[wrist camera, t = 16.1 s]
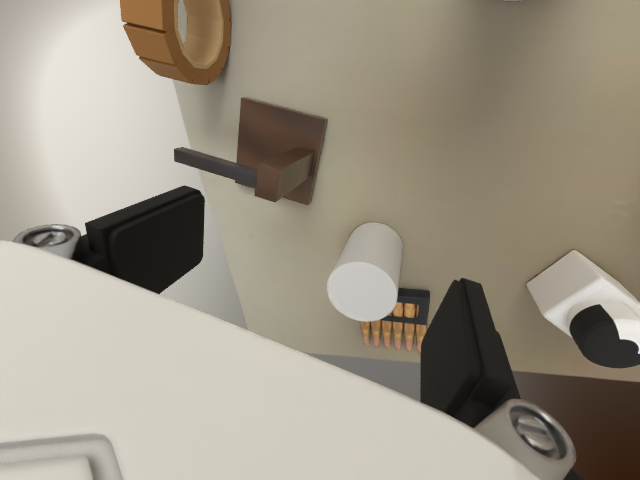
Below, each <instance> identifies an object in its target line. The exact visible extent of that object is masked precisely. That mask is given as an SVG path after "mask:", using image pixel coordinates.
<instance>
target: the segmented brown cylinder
mask: <svg viewBox="0 0 640 480" xmlns="http://www.w3.org/2000/svg"><path fill="white" fill-rule="evenodd" d="M183 1H184V4H185V8H186V11H187V27H188V34H187V37H186V40H185V42H184V45H183V43H182V40H181V37H180V34H179V31H178V3H179V0H120V7H121V17H122V21H123V22H127V24H125V25H123V27H124V29H125V31H126V33H127V35H128V38H129V40H130V42H131V44H132V47H133V49H134V51H135V53H136V55H138V56H140V57H139V59H140V60H141V61H143V62H144V63H145V64H146V65H147V66H148V67H149V68H150V69H151V70H153V71H154V72H155V73H156V74H158V75H160V76H163V77H168V78H171V79H175V80H179V81H183V82H187V83H191V84H200V85H208V84H210V83H211V82H212V81H213V80H214V79H215V78H216V77H217V76H218V75H219V74H220V73H221V70H223V68H224V65H225V62H226V59H227V56H228V53H229V49H228V47H230V42H231V21H230V20H229V19H230V18H231V14H230V8H229V3H228V0H183Z"/></svg>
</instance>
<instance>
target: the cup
mask: <svg viewBox="0 0 640 480" xmlns="http://www.w3.org/2000/svg"><path fill="white" fill-rule="evenodd" d="M402 254H403V244H402V241H401V238H400V237H399V235H398V234H397V233H396V231H395V230H393V229H392V228H391V227H389V226H387V225H385V224H382V223H375V222H372V223H366V224H363V225H361V226H359V227H357V228H356V229H355V230H354V231H353V232H352V234H351V235H350V237H349V239H348V241H347V243H346V245H345V247H344V249H343V251H342V253H341V255H340V257H339V259H338V261H337V263H336V265H335V267H334V269H333V271H332V273H331V275H330V277H329V279H328V283H327V293H328V296H329V299H330V301H331V303H332V304H333V305H334V307H335V308H336V309H337V310H338V311H339V312H341V313H342V314H343V315H345V316H347V317H349V318H351V319H354V320H357V321H364V322H370V321H376V320H380V319H382V318H384V317H386V316H387V315H388V314H390V313H391V311H392V310H393V309H394V307H395V305H396V302H397V295H398V287H399V279H400V270H401V262H402Z"/></svg>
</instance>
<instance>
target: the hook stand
mask: <svg viewBox="0 0 640 480" xmlns="http://www.w3.org/2000/svg"><path fill="white" fill-rule="evenodd" d="M327 120H328V119H326V118H322V117H318V116H314V115H311V114H307V113H303V112H299V111H295V110H291V109H287V108H283V107H280V106H276V105H272V104H268V103H264V102H260V101H256V100H252V99H249V98H241V109H240V123H239V137H238V151H237V163H234V162H231V161H227V160H224V159H221V158H217V157H214V156H211V155H207V154H204V153H201V152H197V151H194V150H191V149H187V148H184V147H181V148H176V149H174V161H175V162H179V163H182V164H186V165H188V166H191V167H195V168H198V169H201V170H204V171H208V172H211V173H214V174H217V175H221V176H224V177H227V178H230V179H233V180H235V183H238V184H242V185H245V186H248V187H251V188H254V189H255V196H257V197H260V198H263V199H266V200H269V201H273V202H276V201H278V200H279V199H281V198H282V197H283V198H287V199H290V200H293V201H296V202H299V203H303V204H306V205H309V204H310V203H311V199H312V195H313V190H314V185H315V180H316V175H317V170H318V165H319V160H320V155H321V150H322V145H323V140H324V135H325V130H326V125H327Z"/></svg>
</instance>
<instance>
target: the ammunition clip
mask: <svg viewBox="0 0 640 480" xmlns="http://www.w3.org/2000/svg"><path fill="white" fill-rule="evenodd" d="M429 302H430V292H429V291H422V290H409V289H398V295H397V302H396V305H395V307H394V309H393V310H392V311H391V313H390V314H388V315H387V316H386V317H384V318H382V319H380V320H376V321H371V323H370V322H364V321H361V329H362V334H363V340H364V343H365V345H366V346H368V344H369V341H370V328H371V329H372V332H373V340H374V344H375V346H376V347H378V346H379V343H380V332H381V320H382V331H383V337H384V344H385V347H386V348H387V349H388V348H389V346H390V342H391V332H392V322H393V333H394V342H395V347H396V349H397V350H399V349H400V346H401V342H402V333H403V323H404V333H405V343H406V348H407V351H408V352H410V351H411V348H412V345H413V336H414V333H415V324H416V336H417V348H418V352H419V353H421V343H422V340H423V337H424V335H425V334H426V332H427V318H428V310H429ZM416 304H417V306H416ZM392 314H393V316H392ZM403 316H404V317H403ZM415 317H416V318H415Z"/></svg>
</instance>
